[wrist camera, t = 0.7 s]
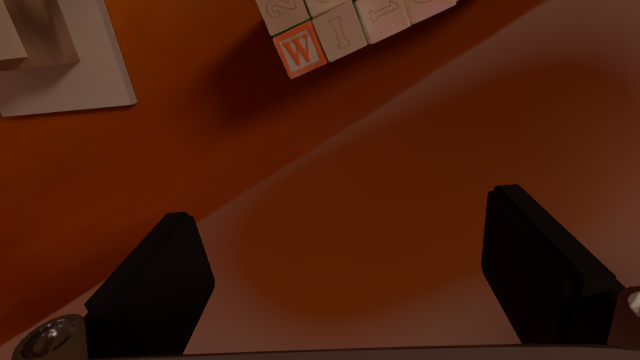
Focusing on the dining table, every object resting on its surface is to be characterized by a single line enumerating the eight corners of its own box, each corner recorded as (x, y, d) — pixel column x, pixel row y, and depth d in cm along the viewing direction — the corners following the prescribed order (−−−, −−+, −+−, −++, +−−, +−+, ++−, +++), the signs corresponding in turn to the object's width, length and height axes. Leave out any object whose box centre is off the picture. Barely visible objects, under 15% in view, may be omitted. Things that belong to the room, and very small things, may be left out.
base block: (-27, -16, 33) (-85, -22, 29) (47, -26, 32) (-1, -34, 28) (12, 68, 37) (-34, 75, 32) (80, 61, 36) (42, 67, 31)
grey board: (-79, -68, 33) (-93, -72, 32) (73, -93, 31) (63, -97, 30) (11, 114, 40) (2, 116, 39) (137, 102, 39) (131, 104, 37)
